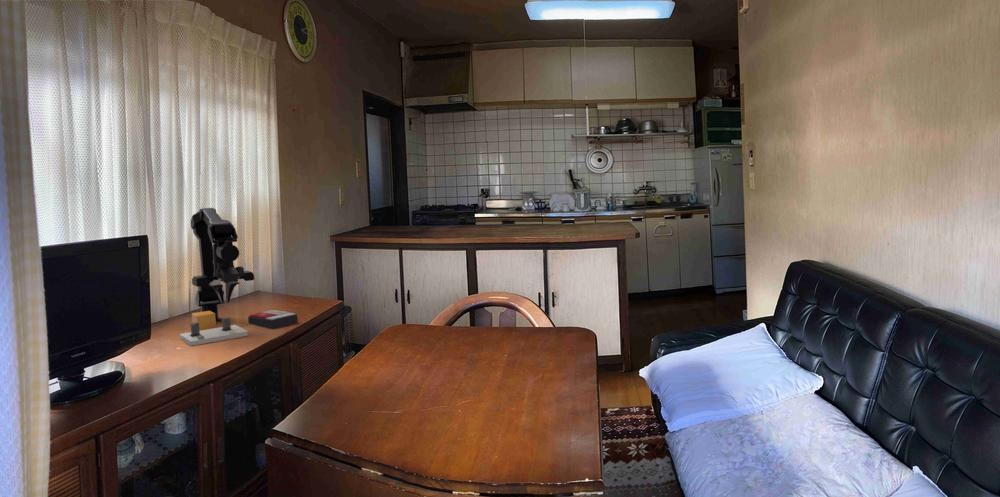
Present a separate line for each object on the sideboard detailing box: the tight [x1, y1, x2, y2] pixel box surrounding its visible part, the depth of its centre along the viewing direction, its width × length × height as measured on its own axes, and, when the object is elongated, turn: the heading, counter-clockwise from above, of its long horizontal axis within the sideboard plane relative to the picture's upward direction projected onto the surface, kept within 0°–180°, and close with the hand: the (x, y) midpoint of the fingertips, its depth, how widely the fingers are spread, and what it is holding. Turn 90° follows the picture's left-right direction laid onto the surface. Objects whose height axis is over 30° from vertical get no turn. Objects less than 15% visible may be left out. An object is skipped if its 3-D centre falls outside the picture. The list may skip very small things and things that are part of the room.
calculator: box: [247, 309, 299, 330], centre depth 215 cm, size 11×4×15 cm
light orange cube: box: [191, 311, 217, 331], centre depth 205 cm, size 6×6×6 cm
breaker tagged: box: [221, 317, 232, 331], centre depth 200 cm, size 3×3×4 cm
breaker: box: [190, 322, 200, 336], centre depth 193 cm, size 3×3×4 cm
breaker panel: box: [179, 324, 249, 347], centre depth 196 cm, size 12×18×2 cm, turn 134°
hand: (225, 302), depth 199 cm, fingers closed
